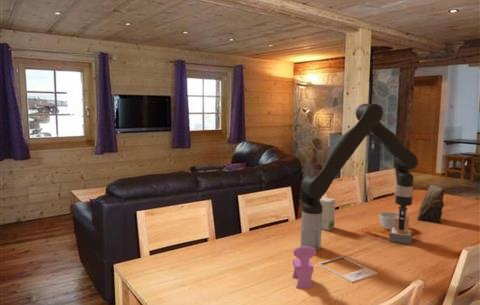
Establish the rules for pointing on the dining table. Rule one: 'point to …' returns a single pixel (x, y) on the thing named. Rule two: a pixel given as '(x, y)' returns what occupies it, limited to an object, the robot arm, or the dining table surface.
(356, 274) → the photo frame
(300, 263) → the purple figurine
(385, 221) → the ramekin
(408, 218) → the cube
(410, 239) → the block
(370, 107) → the robot arm
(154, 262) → the dining table surface
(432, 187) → the dark rock
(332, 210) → the skincare box
